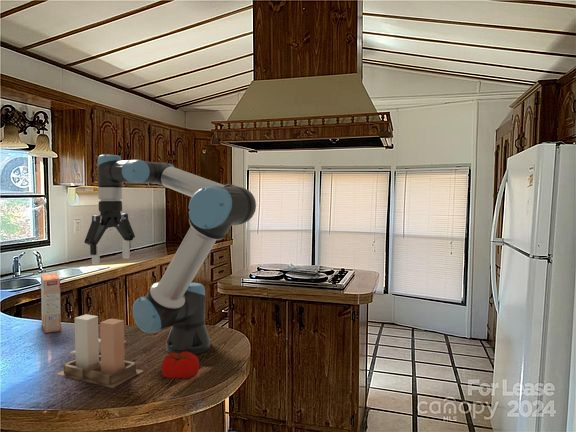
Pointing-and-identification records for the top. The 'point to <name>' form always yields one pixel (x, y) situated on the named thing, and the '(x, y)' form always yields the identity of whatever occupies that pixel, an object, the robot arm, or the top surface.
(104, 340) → the salmon orange block
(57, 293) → the cracker box
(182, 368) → the tomato
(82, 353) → the white rectangular block
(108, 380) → the rack
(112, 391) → the top surface
